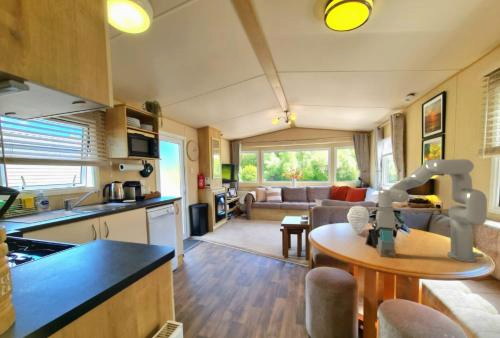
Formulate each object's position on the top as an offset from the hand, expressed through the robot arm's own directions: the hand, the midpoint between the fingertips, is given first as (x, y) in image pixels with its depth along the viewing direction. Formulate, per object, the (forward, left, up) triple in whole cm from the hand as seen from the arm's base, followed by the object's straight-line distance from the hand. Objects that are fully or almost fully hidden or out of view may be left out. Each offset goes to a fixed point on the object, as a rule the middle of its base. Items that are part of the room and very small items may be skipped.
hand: (385, 236), depth 134 cm
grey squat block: (0, 0, -7) cm, 7 cm away
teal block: (0, 0, -2) cm, 2 cm away
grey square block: (0, 0, -12) cm, 12 cm away
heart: (+8, -40, -12) cm, 43 cm away
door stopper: (+3, -15, -12) cm, 20 cm away
